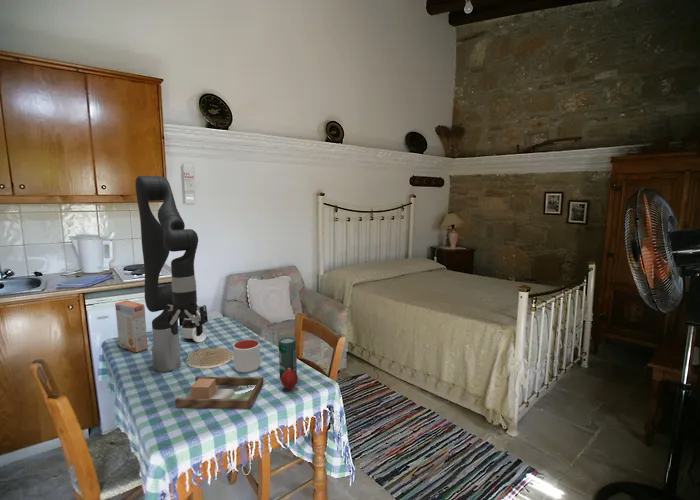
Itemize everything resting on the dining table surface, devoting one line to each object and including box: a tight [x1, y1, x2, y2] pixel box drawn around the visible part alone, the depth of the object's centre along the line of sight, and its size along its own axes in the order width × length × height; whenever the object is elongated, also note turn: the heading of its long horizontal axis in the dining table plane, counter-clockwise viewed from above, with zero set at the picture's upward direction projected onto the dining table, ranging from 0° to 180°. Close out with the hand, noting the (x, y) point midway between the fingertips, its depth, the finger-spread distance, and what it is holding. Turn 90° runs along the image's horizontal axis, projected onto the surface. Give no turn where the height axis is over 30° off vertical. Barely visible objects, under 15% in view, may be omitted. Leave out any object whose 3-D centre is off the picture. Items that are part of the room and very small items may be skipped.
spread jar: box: [181, 312, 207, 343], centre depth 183 cm, size 12×11×12 cm
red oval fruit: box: [280, 368, 299, 391], centre depth 136 cm, size 6×6×8 cm
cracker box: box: [114, 299, 149, 353], centre depth 172 cm, size 14×6×21 cm, turn 58°
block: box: [190, 379, 216, 399], centre depth 132 cm, size 6×6×4 cm
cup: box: [232, 339, 261, 374], centre depth 152 cm, size 10×10×10 cm
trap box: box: [174, 376, 264, 410], centre depth 131 cm, size 24×16×3 cm, turn 88°
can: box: [278, 336, 298, 382], centre depth 143 cm, size 6×6×15 cm
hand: (187, 334), depth 132 cm, fingers open, 8 cm apart
